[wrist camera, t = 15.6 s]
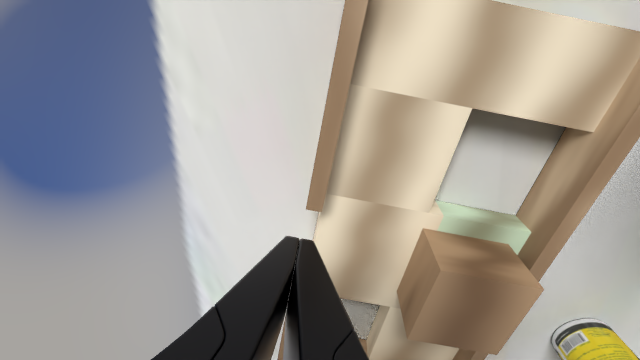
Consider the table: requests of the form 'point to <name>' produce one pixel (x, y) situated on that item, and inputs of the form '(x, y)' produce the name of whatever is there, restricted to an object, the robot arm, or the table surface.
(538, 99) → the box
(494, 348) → the block
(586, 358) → the supplement bottle
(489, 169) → the table surface
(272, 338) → the robot arm
